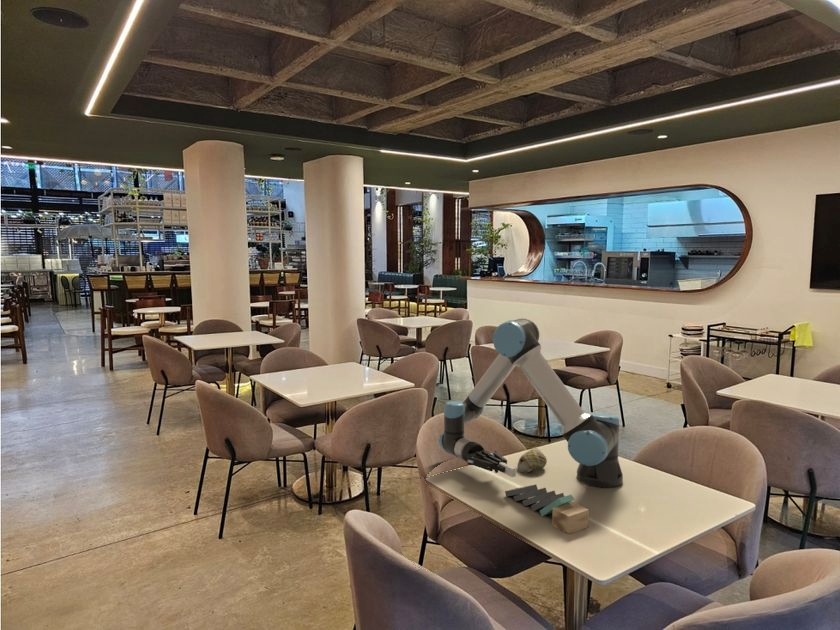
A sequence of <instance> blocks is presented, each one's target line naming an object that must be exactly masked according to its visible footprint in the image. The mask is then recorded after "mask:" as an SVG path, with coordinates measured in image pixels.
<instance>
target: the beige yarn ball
mask: <svg viewBox="0 0 840 630" xmlns="http://www.w3.org/2000/svg"><path fill="white" fill-rule="evenodd" d="M547 461H548V460H547V456H546V455H545V454H544V453H543V452H542V451H541V450H540V449H539V448H538V447H533V448H531V449H530V450H528V451H527V452H524V454H522V455H521V456H520V457H519V460H518V462H517V470H518V471H519V472H521V473H525V472H526V473H529V472H531V471H533V470H535V469H538V470H542V469H544V468H545V467H546V466H547Z"/></svg>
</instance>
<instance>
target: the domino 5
mask: <svg viewBox="0 0 840 630" xmlns="http://www.w3.org/2000/svg"><path fill="white" fill-rule="evenodd" d="M574 500H575V499H574V497H573V495H572V494H568V495H564V497H561V498H558V499H557V500H555V501H554V502H552V503H551V504H549V505H548V506H546V507H545V508H541V509H539V513H540V515H541V516H542V517H543V516H547V515H549V514H553V508H555V507H558V506H561V505H564V504H567V503H570V502H574Z"/></svg>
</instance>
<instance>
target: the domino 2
mask: <svg viewBox="0 0 840 630" xmlns="http://www.w3.org/2000/svg"><path fill="white" fill-rule="evenodd" d="M547 492H548V490H547V488H546V487H542V488H540V489H538V490H535V491H531V492H528V493H523V494H518V495H513V498H514V501H515V502H518V501H519V502H520V501H524V500H527V499H529V498H532V497H535V496H538V495H541V494H544V493H547Z"/></svg>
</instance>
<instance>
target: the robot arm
mask: <svg viewBox="0 0 840 630" xmlns="http://www.w3.org/2000/svg"><path fill="white" fill-rule="evenodd" d="M539 339H540V330H539V328H538V326H537V324H535V322H534V321H532V320H531V319H527V318H516V319H513V320H507V321H505V322H503V323H501V324H499V325H498V326H497V327H496V329H495V330H494V332H493V336H492V345H493V348H494V349H495V351H496V352H497V353H498V355H497V356H496V357H495V359H494V360H493V361H492V363H491V364H490V365H489V367H488V368H487V370H486V371H485V372H484V373H483V375H482V376H481V378H480V379H479V380H478V382H477V383H476V385H475V386H474V387H473V389H472V390H471V391H470V393H468V395H467V396H466V398H465V400H463V401H459V400H451V401H447V402H445V403H444V410H443V421H444V423H443V425H444V426H443V427H444V429H443V431H442V432H441V433H440V435H439V438H438V445H439V447H440V448H441V449H442V450H444V451H445V452H446V453H448V454H451V455H453V456H455V457H457V458H459V459H460V460H462V461H463V462H466V463H467V465H469V466H474V467H476V468H480V469H483V470H485V471H489V472H492V471H494V473H495V474H498V473H499V472H500V473H502V474H504V475H507V476H509V477H510V478H515V477H516V476H517V475H516V471H517V470H516V467H514V466H511V465H510V464H508V459H506V457H504V456H503V455H501V454H499V453H498V451H497V450H494V451H493V452H490V451H488V450H485V449H484V447H483V445H482V444H480V443H477V442H476V441H474V440H471V439H470V438H466V437H465V424H467V423H468V422H470V421H472V420H476V419H477V418H478V417H480V416H481V415H482V413H483V411H484V407H485V406H486V405H487V403H488V402H489V401H490V400H491V399H492V397H494V395H495V393H496V392H497V390H498V389H499V388H500V387H501V385H503V383H504V382H505V381H506V379H507V378H508V376H509V375H510V374H511V372H512V371H513V370H514V368H515V367H519V368H520V371H522V372H523V374H524V375H525V377H526V378H527V380H528V381H529V382H530V384H531V385H532V387H533V388H534V389H535V391H536V392H537V393H538V395H539V396H540V398H541V399H542V400H543V402H544V403H545V405H546V406H547V407H548V409H549V410H550V411H551V414H553V415H554V417H555V418H556V420H557V421H558V423H559V424H560V425H561V427H562V430H561V435H562V436H563V438H564V439H565V441H566V442H567V450H568V453H569V456H571V458H572V459H573V460H574V461H575V462H576V463H578V467H577V469H576V479H578V481H579V482H581V483H583V484H586V485H589V486H592V487H598V488H616V487H619V486H621V485H622V484H623V479H624V478H623V477H624V475H623V472H622V469H621V464H620V462H619V442H620V440H619V438H620V437H619V436H620V428H621V424H620V419H619V417H618V416H616V415H615V414H610V413H605V412H604V413H603V412H596V411H595V412H591V411H590V412H589V411H588V412H585V411H584V410H583V408H582V407H581V406H580V405H579V403H578V402H577V400H576V399H575V398H574V397H573V395H572V394H571V392H570V391H569V389H568V388H567V386H566V385H565V384H564V383H563V381H562V380H561V378H560V376H558V375H557V373H556V372H555V370H554V369H553V368H552V366H551V365H550V364H549V362H548V361H547V360H546V358H545V356H544V355H543V354H542V352H541V350H542V345H541V343H540V342H539Z"/></svg>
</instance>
